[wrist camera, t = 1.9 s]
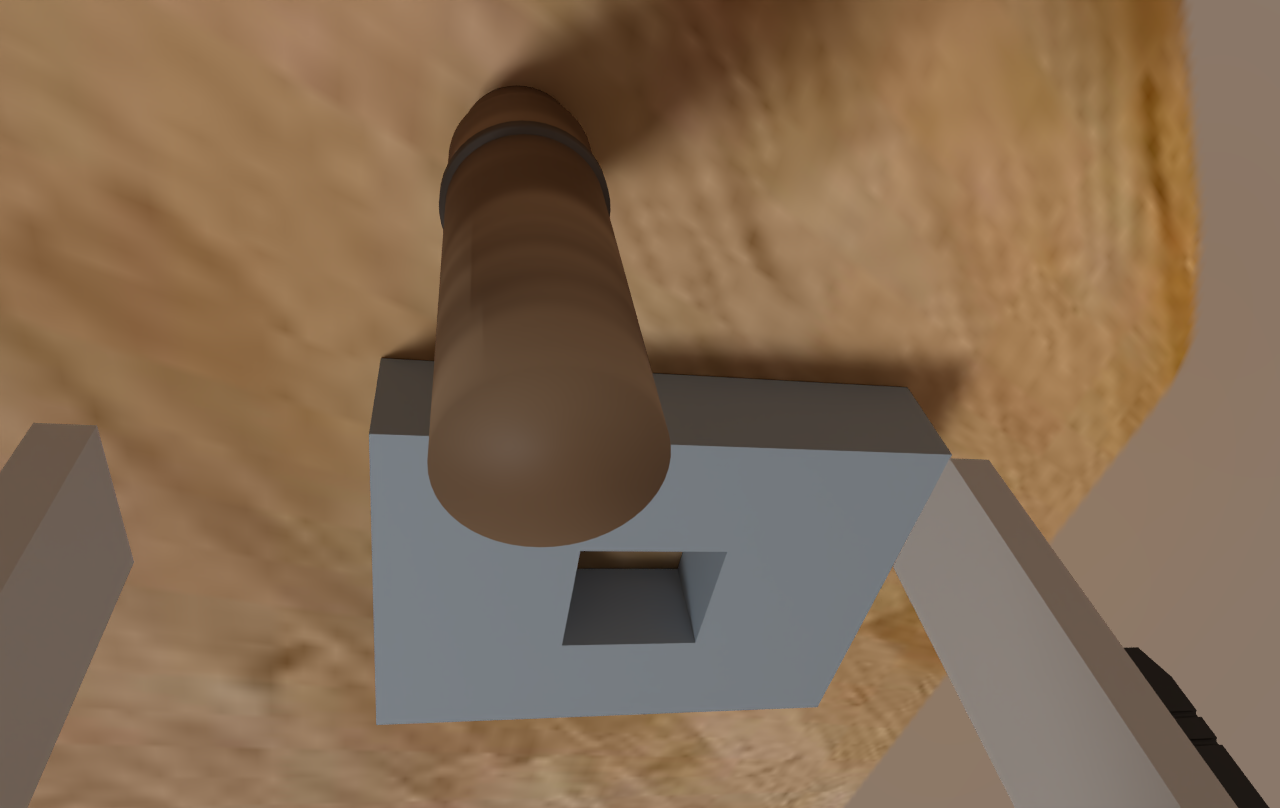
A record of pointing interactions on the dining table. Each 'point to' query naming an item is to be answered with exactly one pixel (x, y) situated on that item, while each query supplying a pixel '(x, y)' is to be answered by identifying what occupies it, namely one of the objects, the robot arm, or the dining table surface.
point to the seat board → (651, 598)
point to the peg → (537, 337)
